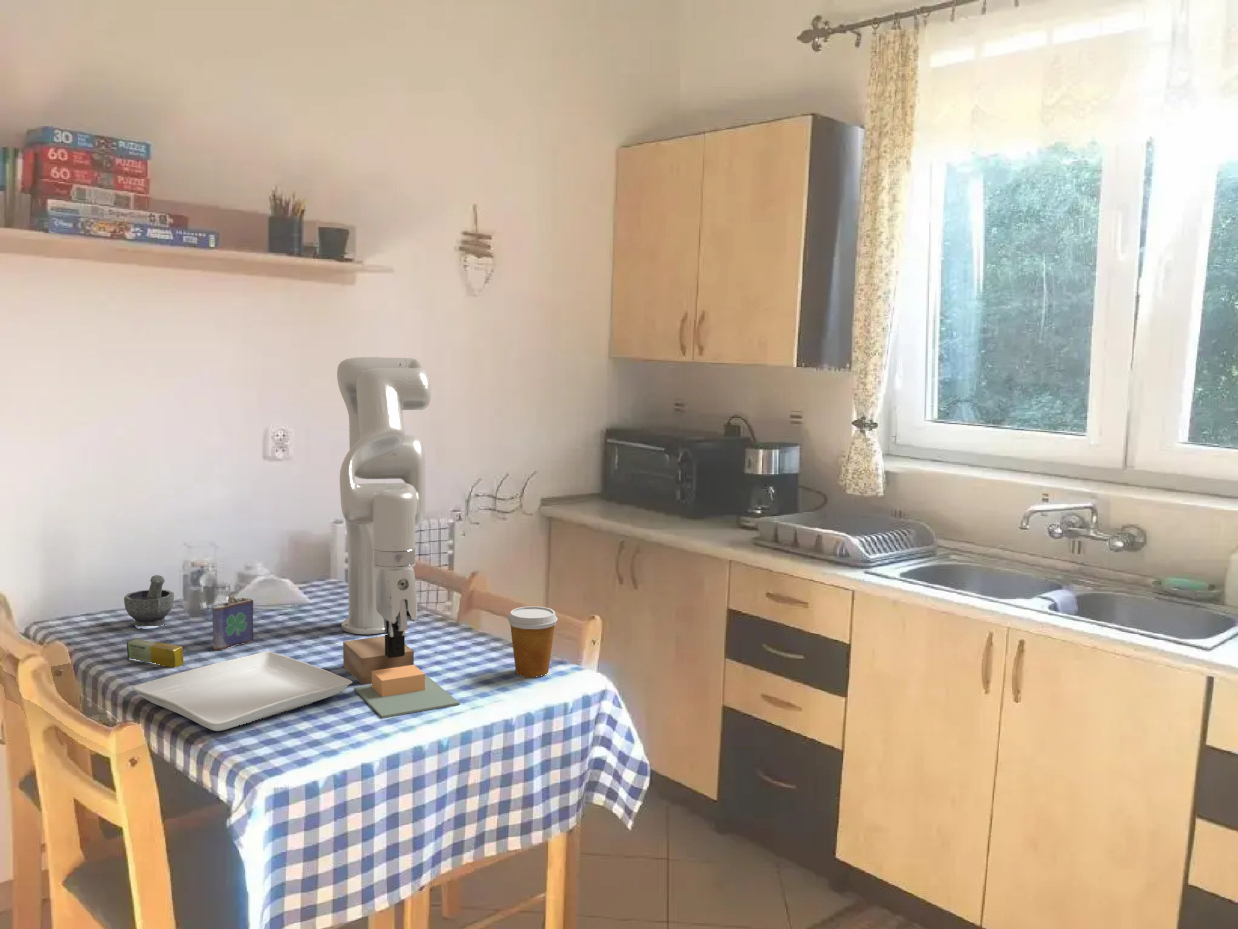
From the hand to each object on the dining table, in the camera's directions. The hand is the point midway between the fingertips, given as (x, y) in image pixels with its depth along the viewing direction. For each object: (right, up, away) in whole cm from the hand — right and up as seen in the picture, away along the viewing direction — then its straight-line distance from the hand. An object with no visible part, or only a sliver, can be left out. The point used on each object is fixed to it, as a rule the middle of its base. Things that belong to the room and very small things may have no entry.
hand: (394, 655), depth 190 cm
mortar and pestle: (-61, 0, +36) cm, 71 cm away
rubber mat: (+3, -7, -4) cm, 8 cm away
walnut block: (-5, -5, +9) cm, 12 cm away
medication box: (-49, -4, +12) cm, 51 cm away
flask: (-39, -2, +24) cm, 46 cm away
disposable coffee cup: (+24, -5, +11) cm, 27 cm away
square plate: (-25, -7, -7) cm, 27 cm away
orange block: (+1, -3, -2) cm, 3 cm away
